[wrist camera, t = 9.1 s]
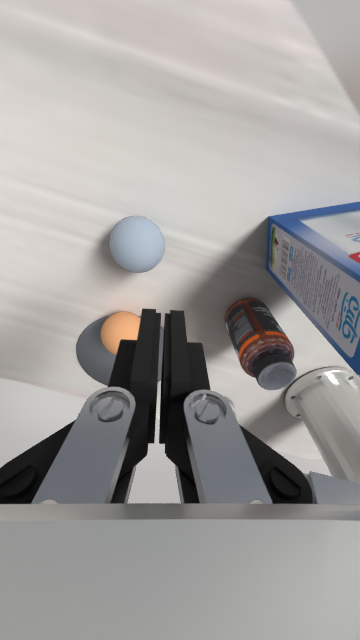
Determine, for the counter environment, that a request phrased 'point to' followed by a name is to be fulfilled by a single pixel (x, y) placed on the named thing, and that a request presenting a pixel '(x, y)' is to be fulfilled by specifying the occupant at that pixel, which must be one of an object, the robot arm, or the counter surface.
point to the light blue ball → (137, 244)
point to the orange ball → (119, 330)
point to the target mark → (102, 353)
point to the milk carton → (321, 270)
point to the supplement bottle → (260, 344)
